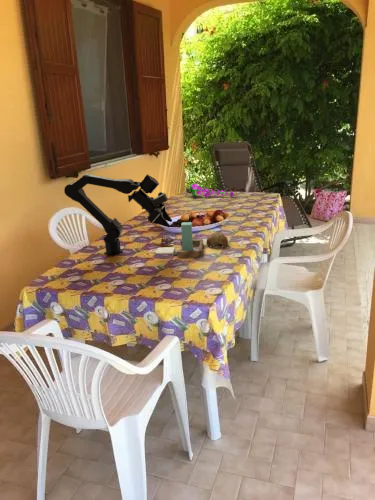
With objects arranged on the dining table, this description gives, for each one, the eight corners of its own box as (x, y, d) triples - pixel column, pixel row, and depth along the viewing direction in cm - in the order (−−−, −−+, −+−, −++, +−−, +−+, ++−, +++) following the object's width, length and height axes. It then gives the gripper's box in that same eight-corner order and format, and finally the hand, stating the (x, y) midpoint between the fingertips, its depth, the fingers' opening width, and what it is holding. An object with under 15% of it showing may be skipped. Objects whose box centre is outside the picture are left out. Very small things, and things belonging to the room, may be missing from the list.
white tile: (155, 254, 196) (155, 253, 196) (157, 248, 204) (157, 247, 204) (173, 253, 195) (173, 252, 195) (174, 248, 203) (174, 247, 203)
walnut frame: (177, 257, 191) (177, 251, 190) (180, 245, 207) (180, 240, 207) (201, 256, 190) (201, 251, 189) (203, 244, 206) (202, 239, 206)
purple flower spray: (187, 201, 324) (233, 205, 316) (182, 193, 308) (230, 198, 300) (190, 185, 326) (235, 189, 318) (185, 177, 310) (233, 181, 302)
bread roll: (209, 255, 202) (211, 242, 197) (203, 241, 209) (204, 228, 204) (229, 252, 205) (231, 240, 199) (222, 238, 212) (224, 226, 206)
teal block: (182, 252, 197) (181, 225, 193) (183, 249, 201) (181, 222, 197) (192, 252, 196) (191, 224, 192) (193, 249, 201) (191, 222, 197)
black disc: (179, 256, 192) (179, 255, 191) (170, 255, 194) (170, 254, 194) (186, 253, 195) (186, 252, 195) (177, 251, 198) (177, 251, 198)
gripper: (153, 191, 182) (180, 216, 184) (158, 184, 199) (183, 206, 202) (136, 210, 185) (163, 234, 187) (143, 201, 202) (168, 223, 205)
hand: (170, 223), depth 195 cm, fingers open, 9 cm apart
